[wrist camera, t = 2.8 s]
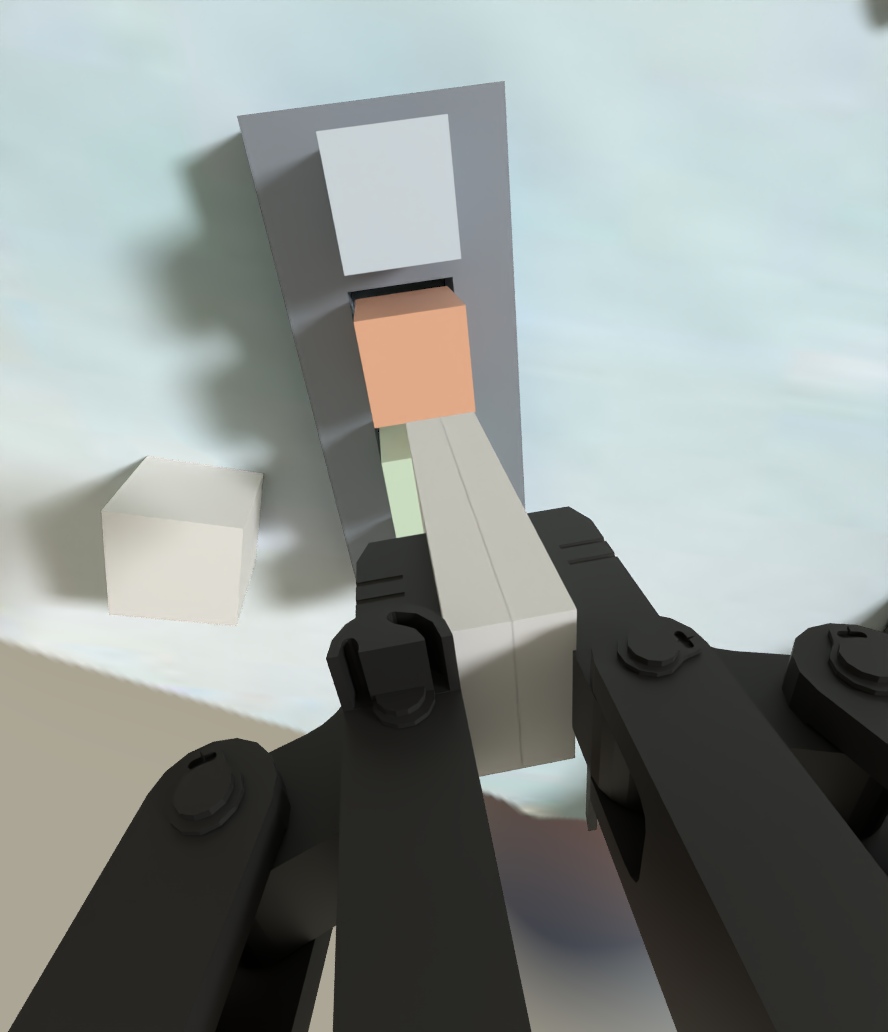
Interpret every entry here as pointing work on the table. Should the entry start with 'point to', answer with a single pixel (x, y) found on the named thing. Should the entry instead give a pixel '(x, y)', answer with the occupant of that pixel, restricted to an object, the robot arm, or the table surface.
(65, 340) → the table surface
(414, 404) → the key terracotta
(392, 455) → the key green
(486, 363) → the key panel
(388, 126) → the key bluegrey
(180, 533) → the pale grey cube
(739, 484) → the table surface
